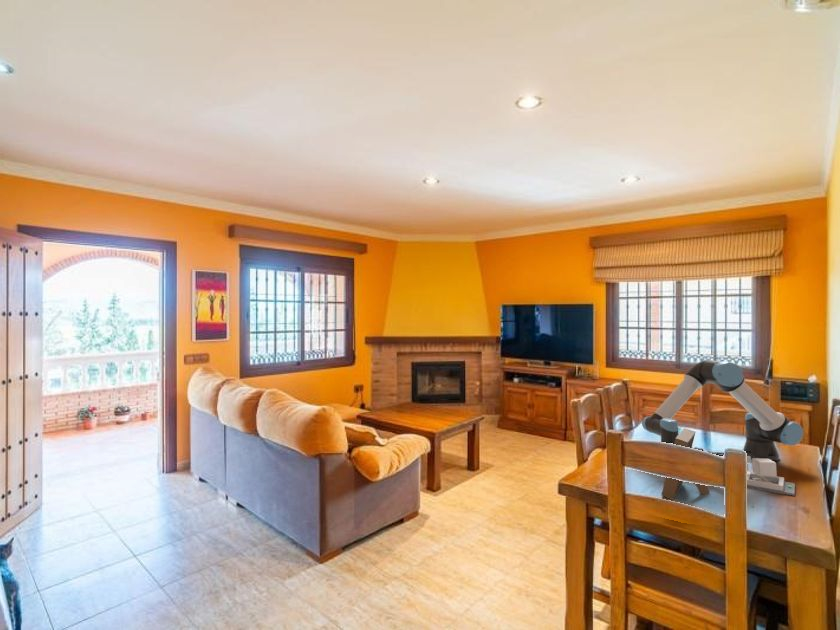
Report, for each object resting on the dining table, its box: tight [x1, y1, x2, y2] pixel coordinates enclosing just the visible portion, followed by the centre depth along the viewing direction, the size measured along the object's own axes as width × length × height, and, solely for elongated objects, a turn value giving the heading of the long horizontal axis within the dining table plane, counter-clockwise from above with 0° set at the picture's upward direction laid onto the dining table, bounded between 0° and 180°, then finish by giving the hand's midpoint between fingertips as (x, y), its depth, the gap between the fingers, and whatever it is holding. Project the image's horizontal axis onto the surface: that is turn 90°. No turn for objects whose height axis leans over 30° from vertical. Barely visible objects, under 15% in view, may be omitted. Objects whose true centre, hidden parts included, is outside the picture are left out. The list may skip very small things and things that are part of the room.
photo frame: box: [661, 427, 710, 501], centre depth 182 cm, size 15×22×25 cm
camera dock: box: [746, 471, 796, 497], centre depth 188 cm, size 15×20×3 cm
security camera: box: [751, 458, 778, 483], centre depth 188 cm, size 6×7×10 cm
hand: (749, 463), depth 191 cm, fingers open, 13 cm apart
